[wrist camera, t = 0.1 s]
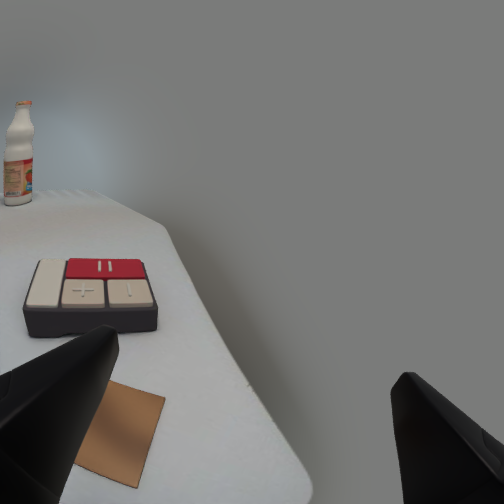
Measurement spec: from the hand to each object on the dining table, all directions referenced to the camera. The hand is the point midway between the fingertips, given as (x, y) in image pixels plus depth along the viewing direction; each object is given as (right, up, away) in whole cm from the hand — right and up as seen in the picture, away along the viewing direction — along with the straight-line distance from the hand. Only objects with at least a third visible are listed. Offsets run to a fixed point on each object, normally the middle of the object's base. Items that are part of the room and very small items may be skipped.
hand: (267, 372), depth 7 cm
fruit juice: (-65, +17, +47) cm, 83 cm away
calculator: (-20, -3, +21) cm, 29 cm away
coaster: (-12, -10, +8) cm, 18 cm away
